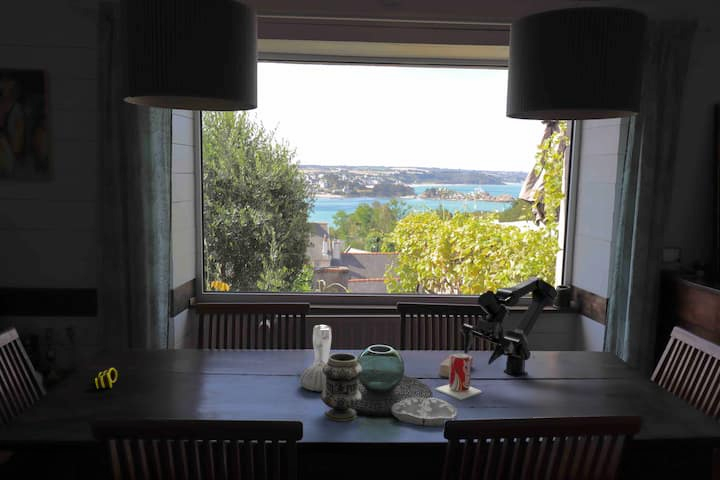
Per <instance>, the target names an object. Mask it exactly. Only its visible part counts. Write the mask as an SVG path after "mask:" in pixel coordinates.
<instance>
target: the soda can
mask: <svg viewBox="0 0 720 480" xmlns="http://www.w3.org/2000/svg"><path fill="white" fill-rule="evenodd" d="M451 354H452V357H451V358H450V368H449V377H448V384H449V387H450V388H451V389H452V390H453V391H456V392H465V391H466V390H468V389H469V387H471V386H470V385H471V374H472V373H471V369H472V367H471V360H470V358H469V356H470V355H469V353H467V354H466V353H464V352H460V351H459V352H453V353H451Z"/></svg>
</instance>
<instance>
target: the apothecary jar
mask: <svg viewBox="0 0 720 480" xmlns="http://www.w3.org/2000/svg"><path fill="white" fill-rule="evenodd" d="M322 370H323V373H324V375H325V376H326V389H324V390H323V391H321V395H320V397H321V401H322V402H323V403H324V404H325V405H326V406H327V407H329V409H327V410H325V411H324V417H325V418H326V419H327V420H330V421H335V422H348V421H352V420H354V419H356V418H357V417H358V416H357V414H358V412H357V411H356V410H355V409H353V408H354V407H356V406H358V405H359V404H360V403H361V401H362V394H361V392H360V390H359V389H358V386H359V384H358V382H359V377H360V376H362V375H361V374H362V373H363V368H362V365H361V364H360V362H359V363H358V359H357V356H356V354H355V355H354V354H353V353H348V352H335V353H331V354H329V358H328V362H327V363H325V364H324V366H323V369H322Z"/></svg>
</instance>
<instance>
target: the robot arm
mask: <svg viewBox="0 0 720 480" xmlns="http://www.w3.org/2000/svg"><path fill="white" fill-rule="evenodd" d="M530 293H531V302H530V304H529V306H528V307H527V309H526V311H525V313H524V314H523V316H522V318H521V319H520V321H519V323H518V324H517V326H516V328H515V329H514V330H510V329H509V330H508V331H507V332H506V333H505V335H504V336H501V337H499V338H497V337H498V335H499V332H501V331H502V327H503V324H504V322H505V320H506V318H507V317H511V312H510V309H509V308H507V307H512V308H513V307H515V306H516V305H517V304H518V303H519V302H520V299H521V298H523V297H525V296H526V295H528V294H530ZM557 295H558V291H557V289H556V287H555V286H553V285H551V284H550V283H548V282H547V281H545V280H544V279H543V278H541V277H538V276H529V277H528V278H526V279H525V280H523V281H521V282H520V283H517V284H515V285H513V286H509V287H500V288H499V289H497V290H496V291H495V292H494V291H493V290H492V289H491V290H490V289H488V290H487V291H486V292H483V293H482V294H481V295H480V296H478V298H477V303H478V306H479V307H481V309H482V310H483V311H484V312H485V313H486V314H488V315H487V317H485V318H484V319H483V320H482V319H478V320H477V323H476V327H475V328H476V329H477V330H478V331H477V330H476V329H475V328H474V326H473V325H469V324H468V323H463V324H462V325H461V327H460V329H459V330H460V331H461V333H462V335H463V336H464V339H465V341H464V342H465V343H464V351H463V353H466V354H469V351H470V350H471V347H472V344H473V343H474V341H475V340H474V338H476V337H477V338H479V339H482V340H485V341H487V342H490V343H493V344H495V347H494V350H493V352H492V353H491V356H490V358H489V359H488V362H487V365H491V364H492V363H494V362H495V361H496V360H497V359H499V358H500V357H502V356H507V357H506V364H505V365H506V366H505V369H503V372H504V373H507V374H509V375H512V376H515V377H519V376H524V375H528V374H529V373H528V371H526V368H525V367H526V361H528V360H529V359H530V358H531V351H530V350H529V349H528V346H529V342H528V336H529V335H530V333H531V331H532V329H533V328H534V326H535V325H536V322H537V321H538V319H539V317H540V315H541V314H542V312H543V310H544V309H545V308H546V307H548V306H549V305H551V304H552V303H553V302H554V301H555V299H556V298H557ZM505 306H507V307H505Z"/></svg>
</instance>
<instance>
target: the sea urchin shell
mask: <svg viewBox="0 0 720 480" xmlns="http://www.w3.org/2000/svg"><path fill="white" fill-rule="evenodd" d="M323 366H324V364H318V363H317V364H314V363H313V364H312V365H310V366H308V367H307V368H305V370H303V372H302V373H301V375H300V378H299V383H300V385H301V386H302V388H304V389H306V390H309V391H313V392H314V391H315V392H323V390H324V389H326V376H325V375H324V373H323V370H322V369H323Z"/></svg>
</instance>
